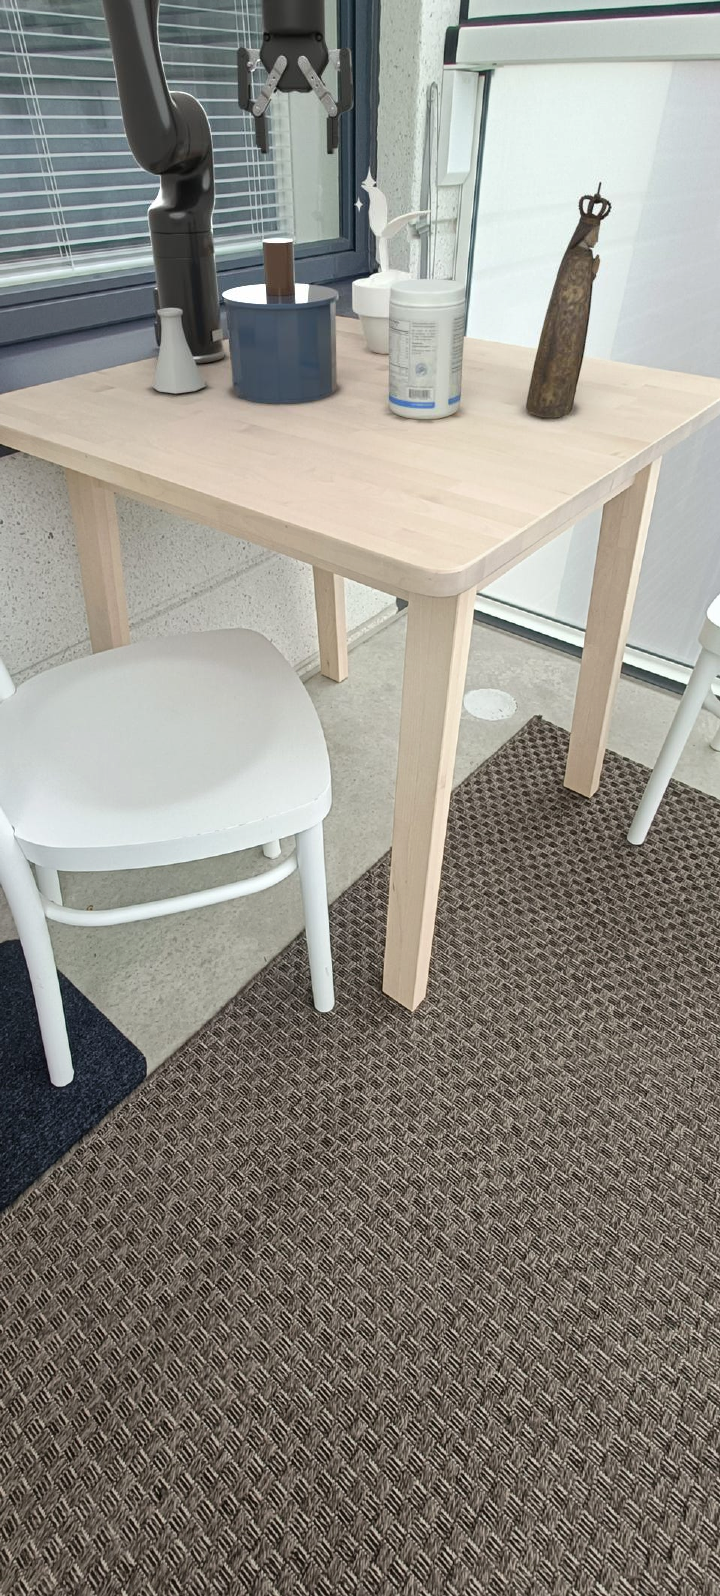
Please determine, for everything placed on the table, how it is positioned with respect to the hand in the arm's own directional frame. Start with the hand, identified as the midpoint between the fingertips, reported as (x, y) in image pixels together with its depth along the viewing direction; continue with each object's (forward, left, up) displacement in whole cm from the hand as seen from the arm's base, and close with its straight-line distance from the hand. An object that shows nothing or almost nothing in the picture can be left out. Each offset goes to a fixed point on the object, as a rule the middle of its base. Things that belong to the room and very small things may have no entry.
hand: (297, 154), depth 112 cm
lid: (+1, -6, -15) cm, 17 cm away
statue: (+37, +6, -27) cm, 46 cm away
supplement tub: (+23, -4, -27) cm, 36 cm away
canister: (+1, -6, -27) cm, 28 cm away
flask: (-12, -14, -27) cm, 33 cm away
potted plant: (0, +23, -27) cm, 35 cm away
